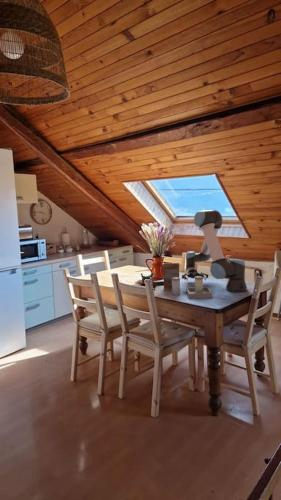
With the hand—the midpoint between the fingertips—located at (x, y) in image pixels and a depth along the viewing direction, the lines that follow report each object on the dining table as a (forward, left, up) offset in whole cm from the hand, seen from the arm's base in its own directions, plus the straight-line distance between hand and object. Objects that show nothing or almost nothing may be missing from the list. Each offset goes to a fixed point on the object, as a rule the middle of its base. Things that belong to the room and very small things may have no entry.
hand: (196, 278), depth 259 cm
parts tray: (-5, +8, -9) cm, 13 cm away
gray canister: (+11, +14, -9) cm, 20 cm away
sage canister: (-5, +8, -8) cm, 13 cm away
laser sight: (+41, 0, -10) cm, 42 cm away
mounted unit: (+20, +2, -9) cm, 22 cm away
